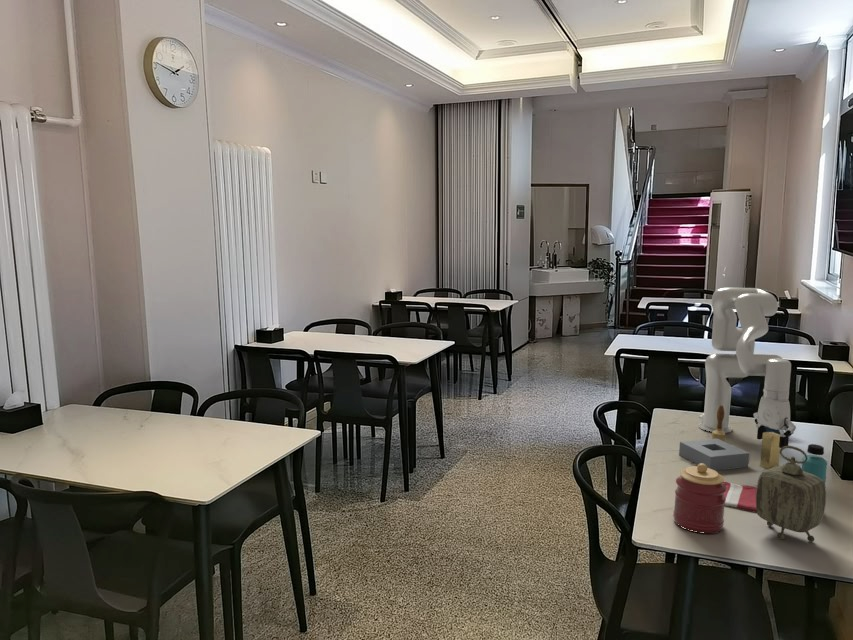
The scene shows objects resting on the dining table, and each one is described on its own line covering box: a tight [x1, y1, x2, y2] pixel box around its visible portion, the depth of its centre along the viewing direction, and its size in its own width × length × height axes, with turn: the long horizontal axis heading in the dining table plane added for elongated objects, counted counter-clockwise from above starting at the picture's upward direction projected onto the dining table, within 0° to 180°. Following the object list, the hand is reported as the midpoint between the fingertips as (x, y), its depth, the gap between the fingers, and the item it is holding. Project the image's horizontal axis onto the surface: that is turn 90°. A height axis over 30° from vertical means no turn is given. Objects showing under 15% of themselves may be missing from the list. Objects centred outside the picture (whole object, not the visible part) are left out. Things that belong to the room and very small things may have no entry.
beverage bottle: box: [801, 443, 828, 490], centre depth 186 cm, size 6×7×20 cm
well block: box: [678, 438, 750, 471], centre depth 227 cm, size 16×16×5 cm
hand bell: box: [710, 405, 727, 443], centre depth 242 cm, size 8×8×16 cm
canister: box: [672, 463, 727, 534], centre depth 177 cm, size 13×13×18 cm
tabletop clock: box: [756, 445, 827, 542], centre depth 170 cm, size 14×9×25 cm, turn 35°
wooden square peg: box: [759, 432, 782, 470], centre depth 221 cm, size 4×4×12 cm
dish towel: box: [722, 481, 757, 513], centre depth 197 cm, size 17×23×3 cm
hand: (772, 443), depth 220 cm, fingers open, 9 cm apart
